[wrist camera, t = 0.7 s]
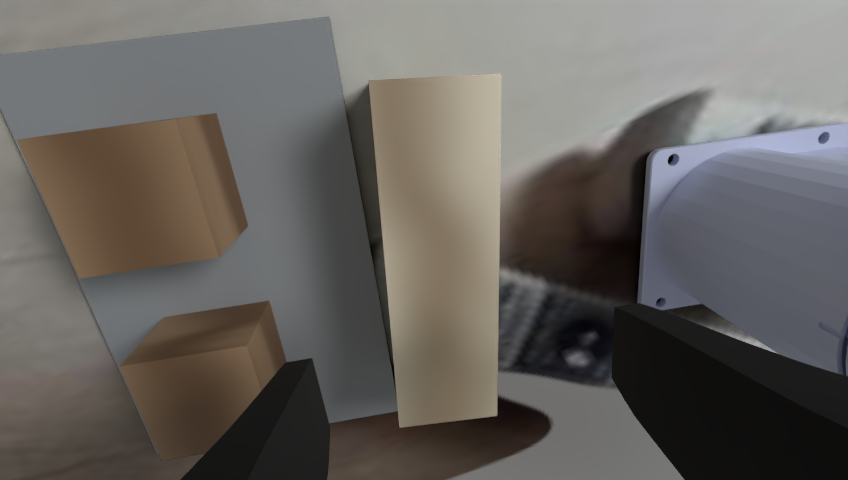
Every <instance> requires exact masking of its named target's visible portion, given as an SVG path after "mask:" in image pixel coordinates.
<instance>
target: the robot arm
mask: <svg viewBox="0 0 848 480" xmlns="http://www.w3.org/2000/svg"><path fill="white" fill-rule="evenodd" d="M820 135H821V137H820V139H819V140H818V138H819V136H820ZM672 154H673V160H672V162H671V163H669V164H668V158H669V157H670V155H672ZM659 298H661V299H660V301H659V302H658V303H656V301H657V300H658V299H659ZM697 304H703V305H705V306H706V307H708V308H710V309H711V310H713V311H714V312H716V313H717V314H719V315H720V316H722V317H723V318H725V319H726V320H728V321H729V322H731V323H732V324H734V325H736V326H737V327H739V328H740V329H742V330H743V331H745V332H746V333H748V334H749V335H751V336H752V337H754V338H755V339H757V340H758V341H760V342H762V343H763V344H765V345H766V346H768V347H769V348H771V349H772V350H774V351H775V352H777V353H778V354H776V353H773V352H770V351H768V350H765V349H762V348H759V347H757V346H754V345H751V344H748V343H746V342H743V341H740V340H738V339H735V338H732V337H730V336H727V335H724V334H722V333H719V332H717V331H714V330H711V329H709V328H706V327H704V326H701V325H699V324H696V323H693V322H691V321H688V320H686V319H683V318H681V317H678V316H675V315H673V314H670V313H667V312H665V311H662V310H667V309H673V308H679V307H685V306H691V305H697ZM779 354H780V355H779ZM612 379H613V381H614V382H615V384H616V386H617V388H618V389H619V391H620V393H621V394H622V396H623V398H624V400H625V401H626V403H627V404H628V406H629V408H630V409H631V411H632V412H633V414H634V416H635V417H636V418H637V419H638V421H639V422H640V423H641V425H642V426H643V427H644V429H645V430H646V431H647V433H648V434H649V435H650V436H651V438H652V439H653V440H654V441H655V443H656V444H657V445H658V447H659V448H660V449H661V450H662V452H663V453H664V454H665V455H666V457H667V458H668V459H669V460H670V462H671V463H672V464H673V465H674V467H675V468H676V469H677V471H678V472H679V473H680V474H681V476H682V477H683V478H684V479H685V480H848V123H834V124H827V125H820V126H813V127H806V128H799V129H792V130H785V131H778V132H771V133H764V134H757V135H750V136H743V137H736V138H729V139H722V140H715V141H708V142H701V143H695V144H688V145H681V146H674V147H667V148H660V149H656V150H654V151H652V152H651V153H650V154H649V156H648V158H647V162H646V177H645V192H644V207H643V223H642V238H641V253H640V268H639V284H638V299H637V304H631V305H625V306H619V307H615V310H614V334H613V358H612ZM329 444H330V425H329V421H328V417H327V413H326V409H325V406H324V402H323V398H322V394H321V390H320V386H319V382H318V379H317V375H316V371H315V367H314V363H313V359H312V358H309V359H303V360H297V361H291V362H286V363H285V364H284V365H283V366H282V367H281V368H280V369H279V370H278V372H277V373H276V374H275V375H274V376H273V377H272V379H271V380H270V381H269V382H268V383H267V385H266V386H265V387H264V388H263V390H262V391H261V392H260V393H259V394H258V395H257V397H256V398H255V399H254V400H253V401H252V403H251V404H250V405H249V406H248V407H247V408H246V410H245V411H244V412H243V413H242V414H241V415H240V416H239V418H238V419H237V420H236V421H235V422H234V423H233V425H232V426H231V427H230V428H229V429H228V430H227V431H226V432H225V433H224V434H223V436H222V437H221V438H220V439H219V440H218V441H217V442H216V443H215V444H214V445H213V446H212V447H211V448H210V449H209V450H208V451H207V453H206V454H205V455H204V456H203V457H202V458H201V459H200V460H199V461H198V462H197V463H196V464H195V465H194V466H193V467H192V468H191V470H190V471H189V472H188V473H187V474H186V475H185V476H184V477H183V478H182V479H181V480H327V475H328V463H329Z"/></svg>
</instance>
